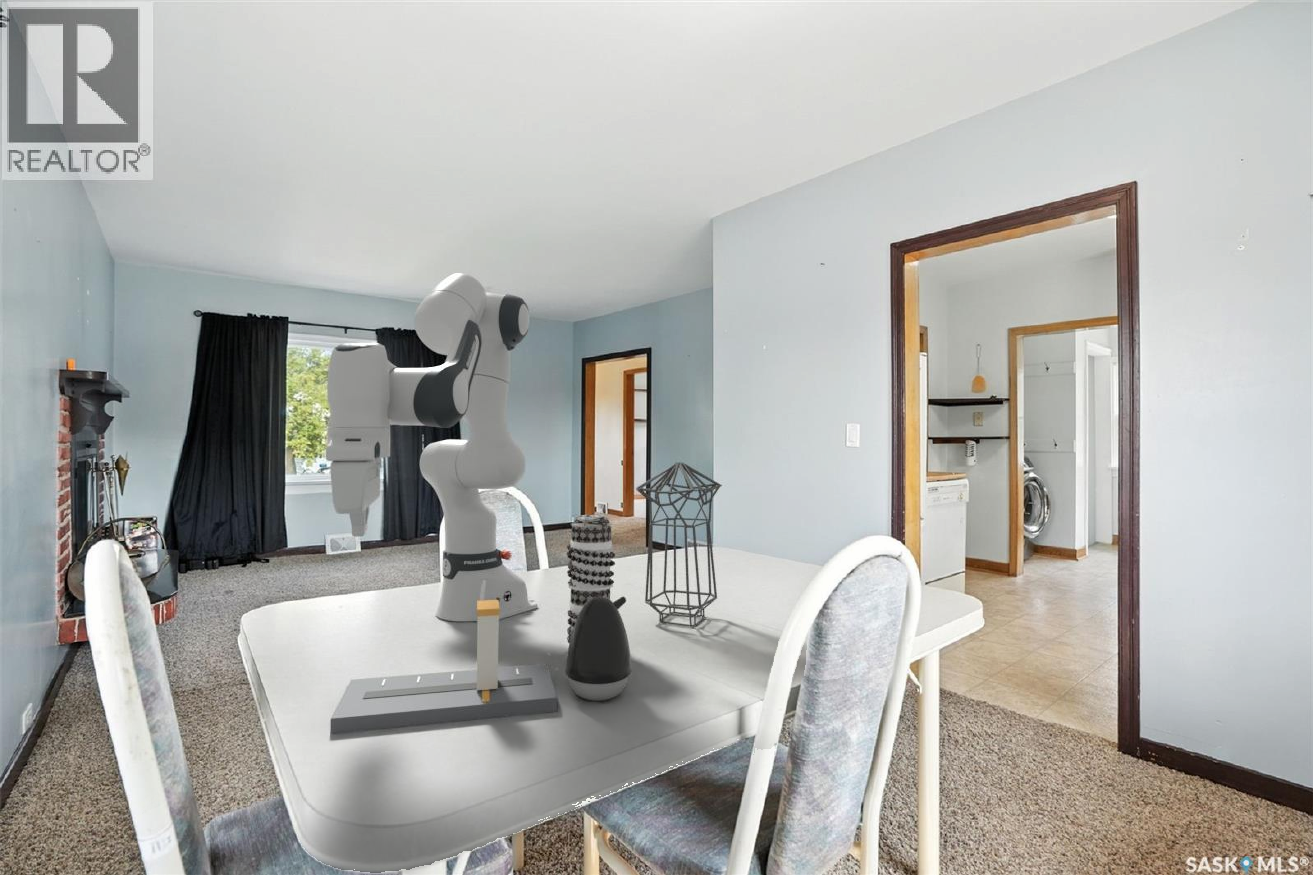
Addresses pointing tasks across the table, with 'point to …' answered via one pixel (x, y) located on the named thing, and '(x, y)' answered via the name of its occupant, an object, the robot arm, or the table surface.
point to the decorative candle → (589, 563)
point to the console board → (442, 698)
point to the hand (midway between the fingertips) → (359, 535)
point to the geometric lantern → (667, 478)
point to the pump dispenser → (599, 651)
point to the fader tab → (487, 644)
